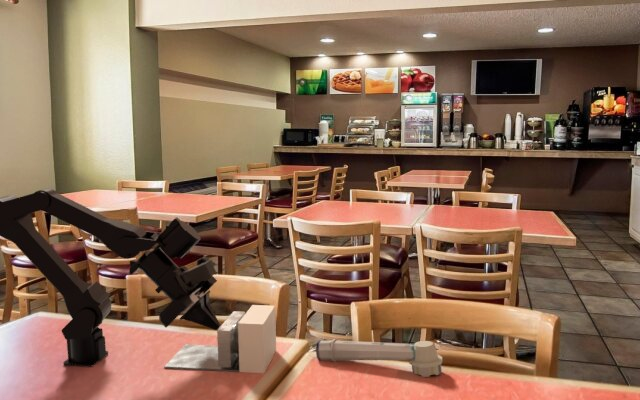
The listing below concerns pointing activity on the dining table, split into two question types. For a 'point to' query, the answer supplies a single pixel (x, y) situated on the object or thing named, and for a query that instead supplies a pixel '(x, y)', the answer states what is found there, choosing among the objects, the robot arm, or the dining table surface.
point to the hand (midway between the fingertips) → (218, 327)
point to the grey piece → (229, 340)
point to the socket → (257, 338)
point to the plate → (199, 359)
